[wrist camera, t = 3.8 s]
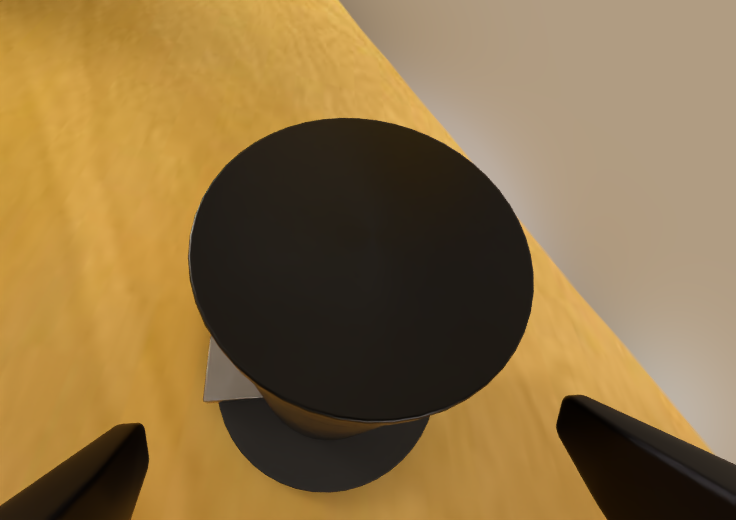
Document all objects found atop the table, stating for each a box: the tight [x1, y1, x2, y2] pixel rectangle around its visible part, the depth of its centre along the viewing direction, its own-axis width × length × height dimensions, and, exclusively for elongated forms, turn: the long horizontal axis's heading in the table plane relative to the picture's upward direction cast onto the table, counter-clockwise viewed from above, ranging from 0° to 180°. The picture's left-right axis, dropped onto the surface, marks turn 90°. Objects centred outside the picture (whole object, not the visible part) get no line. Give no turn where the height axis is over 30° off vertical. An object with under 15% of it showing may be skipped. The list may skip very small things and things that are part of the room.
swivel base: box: [219, 399, 430, 492], centre depth 18 cm, size 11×11×1 cm
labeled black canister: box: [188, 118, 534, 440], centre depth 12 cm, size 7×9×12 cm
